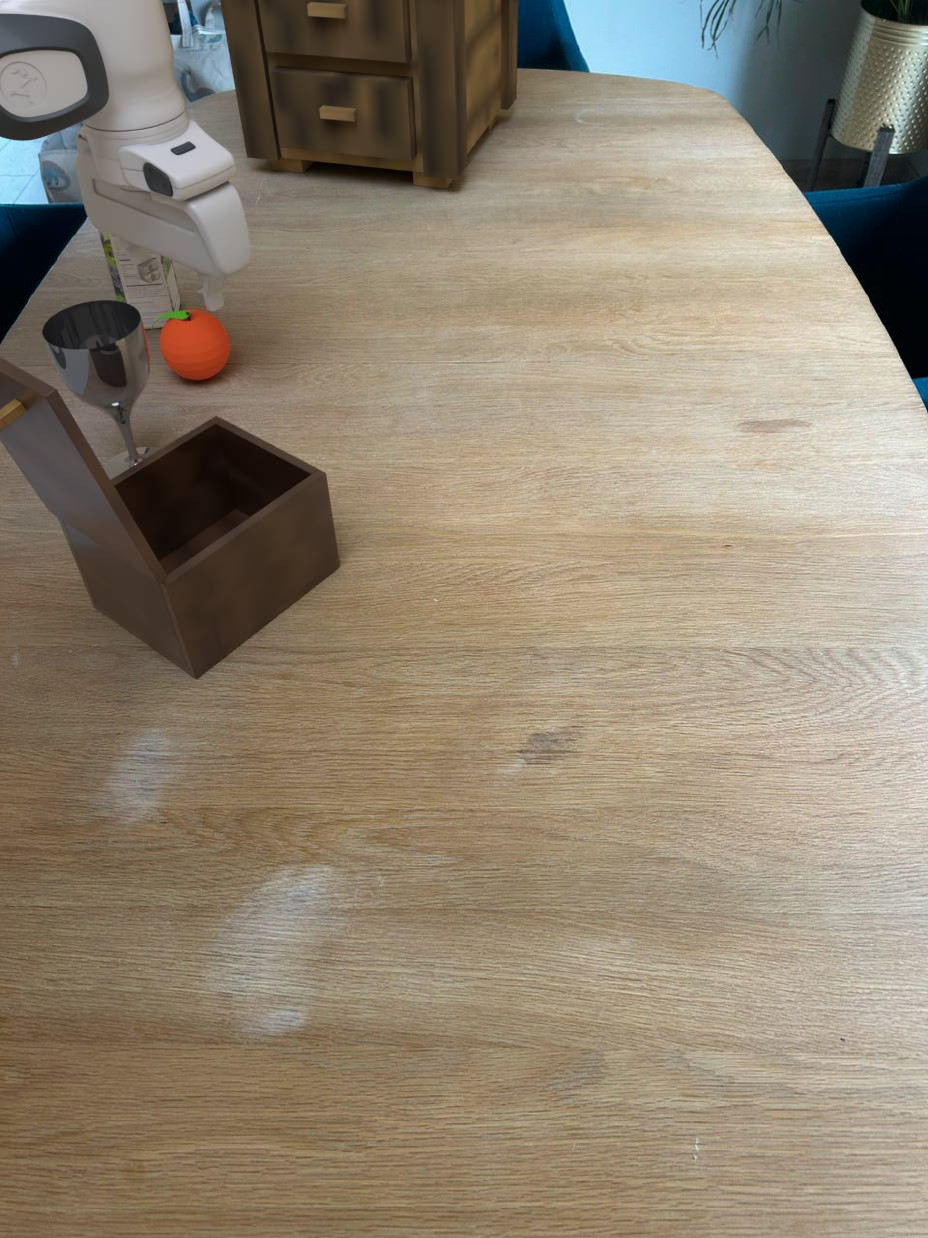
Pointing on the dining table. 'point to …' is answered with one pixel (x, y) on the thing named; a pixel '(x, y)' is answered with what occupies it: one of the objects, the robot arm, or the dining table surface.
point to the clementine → (194, 343)
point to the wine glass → (103, 365)
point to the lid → (67, 468)
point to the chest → (213, 543)
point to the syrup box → (142, 283)
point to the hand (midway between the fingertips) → (180, 292)
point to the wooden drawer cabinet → (371, 80)
